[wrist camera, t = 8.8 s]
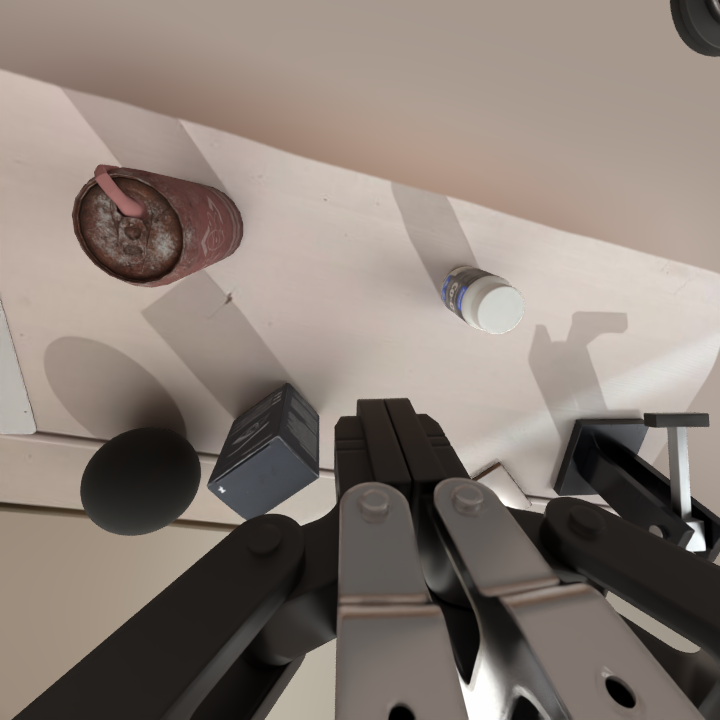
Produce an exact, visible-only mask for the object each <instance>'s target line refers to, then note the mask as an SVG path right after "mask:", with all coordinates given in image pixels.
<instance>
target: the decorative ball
mask: <svg viewBox="0 0 720 720" xmlns="http://www.w3.org/2000/svg"><path fill="white" fill-rule="evenodd" d="M200 478H201V467H200V462H199V458H198V455H197V453H196V451H195V450H194V448H193V447H192V445H191V444H190V443H189V442H188V441H187V440H186V439H185V438H183V437H182V436H181V435H179V434H177V433H175V432H173V431H170V430H167V429H162V428H154V427H147V428H139V429H134V430H130V431H128V432H125V433H122V434H120V435H118V436H116V437H114V438H113V439H111V440H110V441H108V442H107V443H106V444H104V445H103V446H102V447H101V448H100V449H99V450H98V451H97V452H96V453H95V454H94V456H93V457H92V458H91V460H90V461H89V463H88V465H87V466H86V469H85V471H84V473H83V477H82V480H81V488H80V494H81V501H82V504H83V507H84V509H85V512H86V513H87V515H88V516H89V518H90V519H91V520H92V521H93V522H94V523H95V524H96V525H98V526H99V527H101V528H102V529H104V530H106V531H108V532H111V533H115V534H119V535H127V536H135V535H143V534H147V533H151V532H154V531H157V530H159V529H161V528H163V527H165V526H167V525H169V524H170V523H172V522H173V521H174V520H176V519H177V518H178V517H179V516H180V515H181V514H182V513H183V512H184V511H185V510H186V509H187V508H188V507H189V505H190V504H191V502H192V501H193V499H194V497H195V495H196V493H197V490H198V487H199V483H200Z"/></svg>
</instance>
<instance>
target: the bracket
mask: <svg viewBox="0 0 720 720" xmlns="http://www.w3.org/2000/svg"><path fill="white" fill-rule="evenodd" d="M648 428H649V427H648V426H645V425H644V420H643V419H597V420H576V422H575V425H574V428H573V431H572V434H571V438H570V441H569V444H568V447H567V450H566V453H565V456H564V459H563V462H562V465H561V468H560V471H559V474H558V477H557V481H556V484H555V487H554V491H555V492H556V493H557V494H558V495H559V496H568V495H594V494H599V495H600V496H601V497H602V498H603V499H604V500H605V501H606V502H607V503H608V504H609V505H610V506H611V507H612V508H613V509H614V510H615V511H616V512H617V513H618V514H619V515H620V516H621V517H622V518H623V519H625V520H627V521H629V522H631V523H633V524H635V525H637V526H639V527H641V528H643V529H645V530H647V531H649V532H651V533H653V534H655V535H657V536H659V537H661V538H663V539H665V540H667V541H670V542H672V543H674V544H676V545H678V546H680V547H682V548H684V549H686V547H687V545H688V543H689V541H690V540H691V538H692V536H693V534H694V532H695V530H694V529H693V528H691V527H690V526H689V525H688V524H687V523H686V522H684V521H683V520H682V519H681V518H680V517H679V516H677V515H676V514H675V513H674V512H673V511H672V503H671V485H670V480H669V479H668V478H667V477H665V476H664V475H663V474H661V473H660V472H659V471H658V470H656V469H655V468H654V467H652V466H651V465H650V464H648V463H647V462H646V461H645V460H643V459H642V458H641V457H639V456H638V455H637V454H638V452H639V449H640V447H641V444H642V442H643V440H644V437H645V435H646V433H647V430H648ZM690 498H691V515H692V517H693V518H696V519H699V520H702V521H704V527H705V544H706V551H694V553H695V554H696V555H698V556H700V557H702V558H704V559H706V560H708V561H710V562H714V561H715V559H716V557H717V556H718V554H719V552H720V518H719V517H718V516H716V515H715V514H714V513H712V512H711V511H710V510H709V509H707V508H706V507H705V506H703V505H702V504H700V503H699V502H698V501H697V500H696V499H694V498H693V497H692V496H690Z"/></svg>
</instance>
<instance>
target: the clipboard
mask: <svg viewBox="0 0 720 720" xmlns="http://www.w3.org/2000/svg"><path fill="white" fill-rule="evenodd" d="M25 411H26V412H25ZM35 431H36V424H35V421H34V417H33V414H32V410H31V406H30V403H29V399H28V396H27V392H26V389H25V385H24V382H23V378H22V374H21V371H20V367H19V364H18V360H17V357H16V353H15V349H14V346H13V342H12V339H11V335H10V332H9V328H8V324H7V321H6V317H5V314H4V310H3V307H2V303H1V300H0V434H33V433H34V432H35Z"/></svg>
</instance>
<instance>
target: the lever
mask: <svg viewBox="0 0 720 720" xmlns="http://www.w3.org/2000/svg"><path fill="white" fill-rule="evenodd" d="M644 425H645V426H648V427H655V428H661V427H667V431H668V449H669V467H670V485H671V503H672V511H673V512H674V513H675V514H676V515H677V516H679V517H680V518H681V519H682V520H683V521H684V522H686V523H687V524H688V525H689V526H690V527H691V528H693V529H694V530H695V532H694V534H693V536H692V538H691V540H690V541H689V543H688V545H687V547H686V550H688V551H690V552H694V551H706V544H705V527H704V521H702V520H699V519H696V518H693V517H692V515H691V498H690V483H689V465H688V447H687V430H686V427H709V415H708V414H707V413H644Z"/></svg>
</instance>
